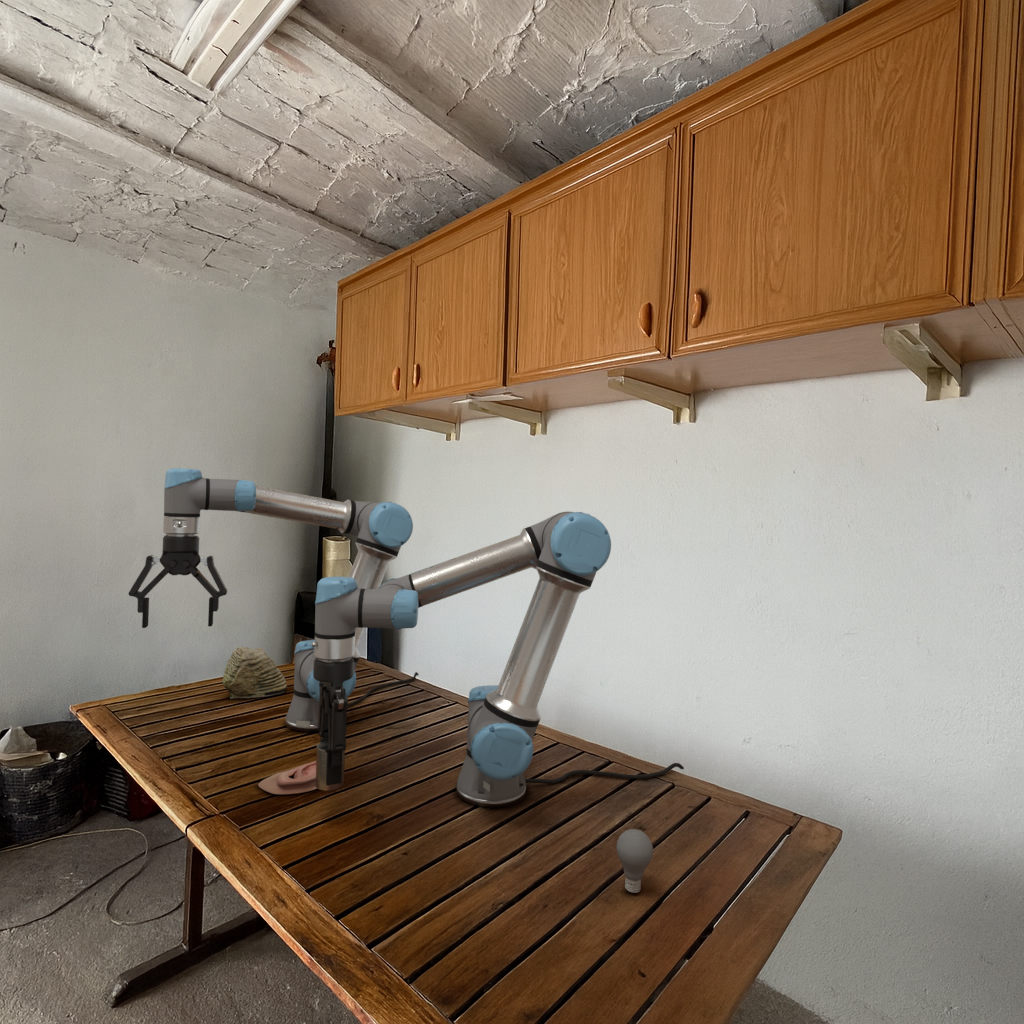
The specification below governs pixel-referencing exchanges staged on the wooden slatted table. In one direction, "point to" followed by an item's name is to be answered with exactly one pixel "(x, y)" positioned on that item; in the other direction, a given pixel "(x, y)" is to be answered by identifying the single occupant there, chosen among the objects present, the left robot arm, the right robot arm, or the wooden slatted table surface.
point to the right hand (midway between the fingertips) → (329, 776)
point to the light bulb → (634, 857)
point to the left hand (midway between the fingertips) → (178, 626)
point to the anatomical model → (291, 780)
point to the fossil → (252, 674)
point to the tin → (321, 768)
